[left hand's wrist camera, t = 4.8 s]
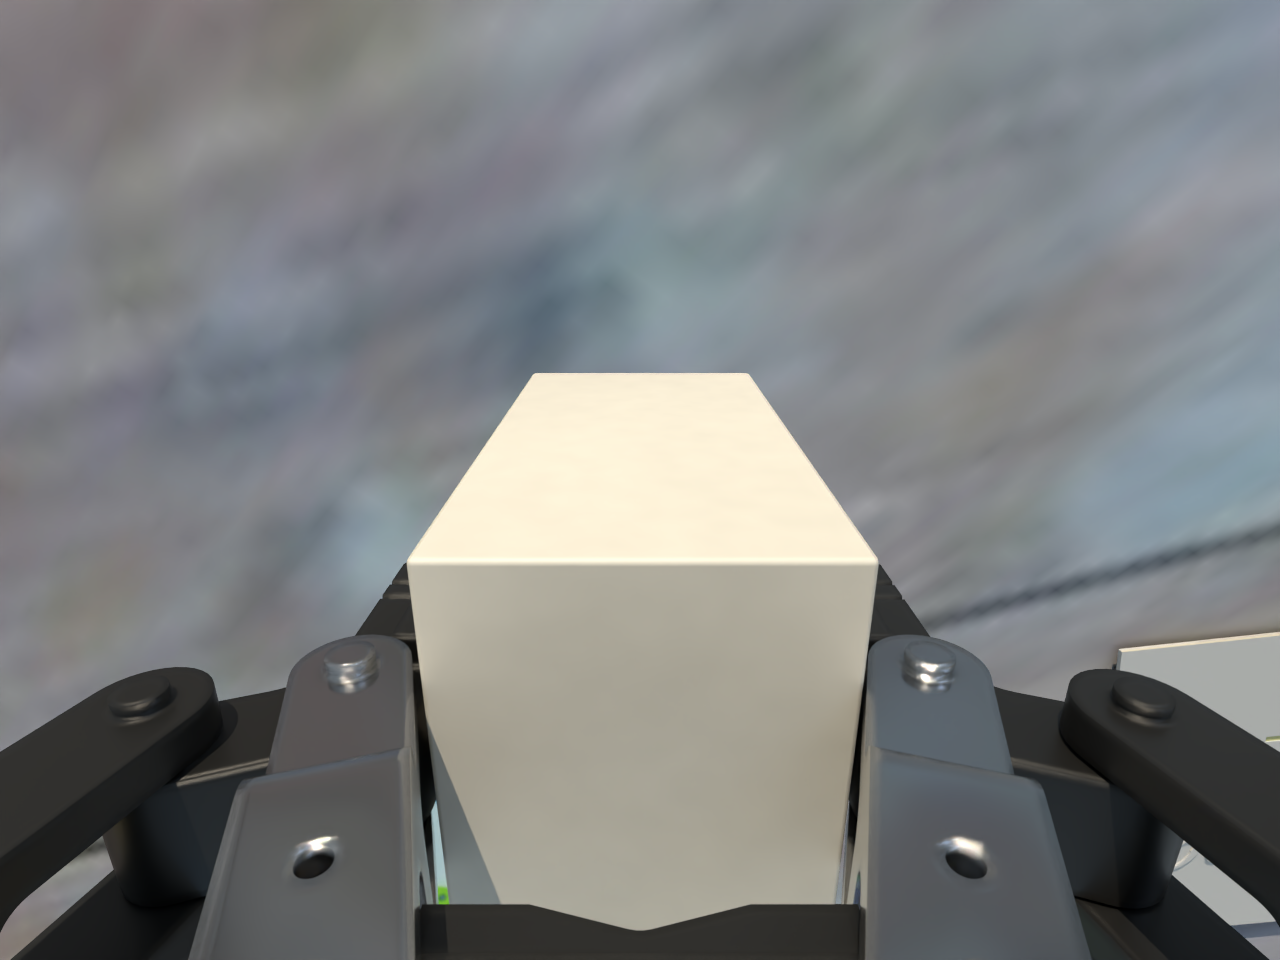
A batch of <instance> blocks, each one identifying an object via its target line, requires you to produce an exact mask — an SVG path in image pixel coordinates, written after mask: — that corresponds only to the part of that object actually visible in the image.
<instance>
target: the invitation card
mask: <svg viewBox="0 0 1280 960" xmlns="http://www.w3.org/2000/svg"><path fill="white" fill-rule="evenodd" d="M1116 670H1121V671H1127V672H1132V673H1136V674H1140V675H1143V676H1146V677H1150V678H1153V679H1155V680H1158V681H1161V682H1163V683H1166V684H1168V685H1170V686H1172V687H1174V688H1176V689H1178V690H1180V691H1182V692H1184V693H1185V694H1187V695H1189V696H1190V697H1192V698H1194V699H1195V700H1197V701H1198V702H1200V703H1202V704H1203V705H1205V706H1207V707H1208V708H1210V709H1211V710H1213V711H1215V712H1216V713H1218V714H1219V715H1221V716H1223V717H1224V718H1226V719H1227V720H1229V721H1231V722H1232V723H1234V724H1236V725H1237V726H1239V727H1240V728H1242V729H1244V730H1245V731H1247V732H1248V733H1250V734H1252V735H1253V736H1255V737H1256V738H1258V739H1260V740H1261V741H1263V742H1265V743H1266V744H1268V745H1269V746H1271V747H1273V748H1274V749H1276V750H1277V751H1279V752H1280V632H1275V633H1266V634H1257V635H1247V636H1238V637H1228V638H1219V639H1209V640H1200V641H1191V642H1181V643H1172V644H1162V645H1153V646H1143V647H1134V648H1125V649H1119V650H1118V658H1117V666H1116ZM1172 875H1173V876H1174V877H1175V878H1176V879H1177V880H1179V881H1180V882H1181V883H1182V884H1183V885H1184V886H1185V887H1187V888H1188V889H1189V890H1190V891H1191V892H1192V893H1193V894H1195V895H1196V896H1197V897H1198V898H1199V899H1200V900H1202V901H1203V902H1204V903H1205V904H1206V905H1207V906H1208V907H1210V908H1211V909H1212V910H1213V911H1214V912H1215V913H1216V914H1218V915H1219V916H1220V917H1221V918H1222V919H1223V920H1224V921H1226V922H1227V923H1228V924H1229V925H1241V924H1252V923H1263V922H1274V921H1275V919H1274V918H1273V917H1272V915H1271V914H1270V913H1269V912H1268V911H1267V909H1266V908H1265V907H1264V906H1263V905H1262V904H1261V903H1259V902H1258V901H1257V900H1256V899H1255V898H1254V897H1253V896H1251V895H1250V894H1249V893H1248V892H1246V891H1245V890H1244V889H1243V888H1242V887H1240V886H1239V885H1238V884H1237V883H1235V882H1234V881H1233V880H1232V879H1230V878H1229V877H1228V876H1227V875H1226V874H1224V873H1223V872H1222V871H1221V870H1219V869H1218V868H1217V867H1216V866H1215V865H1213V864H1212V863H1211V862H1210V861H1208V860H1207V859H1206V858H1205V857H1203V856H1202V855H1201V854H1200V853H1199V852H1197V851H1196V850H1195V849H1194V848H1192V847H1191V846H1190V845H1189V844H1187V843H1186V842H1185V841H1183V844H1182V847H1181V850H1180V852H1179V855H1178V858H1177V861H1176V864H1175V867H1174V870H1173V873H1172Z"/></svg>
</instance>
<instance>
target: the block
mask: <svg viewBox="0 0 1280 960" xmlns="http://www.w3.org/2000/svg"><path fill="white" fill-rule="evenodd" d="M878 566H879V562H878V559H877V557H876V556H875V554H874V553H873V551H872V550H871V549H870V547H869V546H868V544H867V543H866V541H865V540H864V539H863V537H862V536H861V534H860V533H859V531H858V530H857V528H856V527H855V526H854V524H853V523H852V521H851V520H850V518H849V517H848V516H847V514H846V513H845V511H844V510H843V508H842V507H841V506H840V504H839V503H838V501H837V500H836V498H835V497H834V496H833V494H832V493H831V491H830V490H829V488H828V487H827V486H826V484H825V483H824V481H823V480H822V478H821V477H820V476H819V474H818V473H817V471H816V470H815V468H814V467H813V466H812V464H811V463H810V461H809V460H808V458H807V457H806V455H805V454H804V453H803V451H802V450H801V448H800V447H799V445H798V444H797V443H796V441H795V440H794V438H793V437H792V435H791V434H790V433H789V431H788V430H787V428H786V427H785V425H784V424H783V423H782V421H781V420H780V418H779V417H778V415H777V414H776V413H775V411H774V410H773V408H772V407H771V405H770V404H769V403H768V401H767V400H766V398H765V397H764V395H763V394H762V392H761V391H760V390H759V388H758V387H757V385H756V384H755V382H754V381H753V380H752V378H751V377H750V375H749V374H747V373H536V374H533V376H532V377H531V379H530V380H529V382H528V383H527V385H526V386H525V388H524V389H523V390H522V392H521V393H520V395H519V396H518V398H517V399H516V401H515V402H514V404H513V405H512V407H511V408H510V410H509V411H508V413H507V414H506V415H505V417H504V418H503V420H502V421H501V423H500V424H499V426H498V427H497V429H496V430H495V432H494V433H493V435H492V436H491V437H490V439H489V440H488V442H487V443H486V445H485V446H484V448H483V449H482V451H481V452H480V454H479V455H478V457H477V458H476V459H475V461H474V462H473V464H472V465H471V467H470V468H469V470H468V471H467V473H466V474H465V476H464V477H463V479H462V480H461V482H460V483H459V484H458V486H457V487H456V489H455V490H454V492H453V493H452V495H451V496H450V498H449V499H448V501H447V502H446V504H445V505H444V506H443V508H442V509H441V511H440V512H439V514H438V515H437V517H436V518H435V520H434V521H433V523H432V524H431V526H430V527H429V528H428V530H427V531H426V533H425V534H424V536H423V537H422V539H421V540H420V542H419V543H418V545H417V546H416V548H415V549H414V550H413V552H412V553H411V555H410V556H409V558H408V560H407V570H408V578H409V586H410V594H411V602H412V610H413V618H414V626H415V634H416V642H417V650H418V658H419V666H420V674H421V682H422V690H423V698H424V706H425V714H426V722H427V730H428V738H429V746H430V754H431V762H432V770H433V778H434V786H435V794H436V802H437V810H438V818H439V826H440V834H441V842H442V850H443V858H444V866H445V874H446V882H447V890H448V898H449V904H530V905H534V906H538V907H542V908H546V909H550V910H554V911H558V912H562V913H566V914H570V915H574V916H578V917H582V918H586V919H590V920H594V921H598V922H602V923H606V924H610V925H614V926H618V927H622V928H626V929H631V930H649V929H654V928H658V927H662V926H666V925H670V924H674V923H678V922H682V921H686V920H690V919H694V918H698V917H702V916H706V915H710V914H714V913H718V912H722V911H726V910H730V909H734V908H738V907H742V906H746V905H750V904H835V901H836V894H837V886H838V878H839V870H840V862H841V855H842V847H843V839H844V831H845V823H846V816H847V808H848V800H849V792H850V784H851V777H852V769H853V761H854V753H855V745H856V738H857V730H858V722H859V714H860V706H861V699H862V691H863V683H864V675H865V667H866V660H867V652H868V644H869V636H870V628H871V621H872V613H873V605H874V597H875V589H876V582H877V574H878Z"/></svg>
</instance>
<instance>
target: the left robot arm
mask: <svg viewBox="0 0 1280 960" xmlns="http://www.w3.org/2000/svg"><path fill="white" fill-rule="evenodd" d="M435 801H436V794H435V786H434V778H433V770H432V762H431V754H430V746H429V738H428V730H427V722H426V714H425V706H424V698H423V690H422V682H421V674H420V666H419V658H418V650H417V642H416V634H415V626H414V618H413V610H412V602H411V594H410V586H409V578H408V570H407V563H405V564H404V565H403V566H402V568H401V569H400V571H399V572H398V574H397V575H396V576H395V578H394V579H393V581H392V585H389V587H388V588H387V590H386V591H385V593H384V594H383V599H380V600H379V601H378V603H377V604H376V606H375V607H374V609H373V610H372V612H371V613H370V615H369V616H368V618H367V619H366V621H365V622H364V623H363V625H362V626H361V628H360V629H359V631H358V632H357V634H356V635H355V636H352V637H347V638H343V639H339V640H336V641H333V642H330V643H328V644H325V645H323V646H321V647H319V648H317V649H315V650H313V651H312V652H310V653H308V654H307V655H306V656H304V657H303V658H302V659H301V660H300V661H299V662H298V663H297V664H296V665H295V666H294V667H293V669H292V670H291V672H290V675H289V678H288V682H287V686H286V688H282V689H278V690H274V691H270V692H265V693H260V694H254V695H249V696H244V697H239V698H234V699H228V700H223V701H218V698H217V693H216V689H215V685H214V682H213V679H212V677H211V676H210V675H209V674H207V673H206V672H204V671H202V670H198V669H195V668H187V667H173V668H163V669H157V670H152V671H148V672H144V673H140V674H137V675H134V676H131V677H128V678H125V679H123V680H120V681H118V682H115V683H113V684H111V685H109V686H107V687H105V688H103V689H101V690H100V691H98V692H96V693H94V694H93V695H91V696H90V697H88V698H86V699H85V700H83V701H82V702H80V703H78V704H77V705H75V706H73V707H72V708H70V709H69V710H67V711H65V712H64V713H62V714H61V715H59V716H57V717H56V718H54V719H53V720H51V721H49V722H48V723H46V724H44V725H43V726H41V727H40V728H38V729H36V730H35V731H33V732H32V733H30V734H28V735H27V736H25V737H24V738H22V739H20V740H19V741H17V742H15V743H14V744H12V745H11V746H9V747H7V748H6V749H4V750H3V751H1V752H0V932H1V930H2V928H3V926H4V924H5V923H6V921H7V919H8V918H9V916H10V915H11V914H12V912H13V911H14V910H15V909H16V908H17V906H18V905H19V904H20V903H21V902H22V901H23V900H24V899H25V898H27V897H28V896H29V895H30V894H31V893H32V892H34V891H35V890H36V889H37V888H38V887H40V886H41V885H42V884H43V883H45V882H46V881H47V880H48V879H50V878H51V877H52V876H53V875H54V874H56V873H57V872H58V871H59V870H61V869H62V868H63V867H64V866H66V865H67V864H68V863H69V862H70V861H72V860H73V859H74V858H75V857H77V856H78V855H79V854H80V853H81V852H83V851H84V850H85V849H86V848H88V847H89V846H90V845H91V844H93V843H94V842H95V841H96V840H97V839H99V838H100V837H101V836H103V839H104V842H105V845H106V848H107V850H108V853H109V856H110V859H111V862H112V865H113V868H114V870H113V871H112V872H111V873H109V874H108V875H107V876H106V877H105V878H104V879H103V880H101V881H100V882H99V883H98V884H97V885H96V886H95V887H93V888H92V889H91V890H90V891H89V892H88V893H87V894H85V895H84V896H83V897H82V898H81V899H80V900H79V901H77V902H76V903H75V904H74V905H73V906H72V907H70V908H69V909H68V910H67V911H66V912H65V913H64V914H62V915H61V916H60V917H59V918H58V919H57V920H56V921H54V922H53V923H52V924H51V925H50V926H49V927H48V928H46V929H45V930H44V931H43V932H42V933H41V934H40V935H38V936H37V937H36V938H35V939H34V940H33V941H32V942H30V943H29V944H28V945H27V946H26V947H25V948H24V949H22V950H21V951H20V952H19V953H18V954H17V955H15V956H14V957H13V958H12V959H11V960H1269V959H1268V958H1267V957H1266V956H1265V955H1263V954H1262V953H1261V952H1260V951H1259V950H1258V949H1257V948H1255V947H1254V946H1253V945H1252V944H1251V943H1250V942H1248V941H1247V940H1246V939H1245V938H1244V937H1243V936H1242V935H1240V934H1239V933H1238V932H1237V931H1236V930H1235V929H1234V928H1232V927H1231V926H1230V925H1229V924H1228V923H1227V922H1226V921H1224V920H1223V919H1222V918H1221V917H1220V916H1219V915H1218V914H1216V913H1215V912H1214V911H1213V910H1212V909H1211V908H1210V907H1208V906H1207V905H1206V904H1205V903H1204V902H1203V901H1202V900H1200V899H1199V898H1198V897H1197V896H1196V895H1195V894H1193V893H1192V892H1191V891H1190V890H1189V889H1188V888H1187V887H1185V886H1184V885H1183V884H1182V883H1181V882H1180V881H1179V880H1177V879H1176V878H1175V877H1174V876H1173V875H1172V873H1173V870H1174V867H1175V864H1176V861H1177V858H1178V855H1179V852H1180V850H1181V847H1182V844H1183V841H1185V842H1186V843H1187V844H1189V845H1190V846H1191V847H1192V848H1194V849H1195V850H1196V851H1197V852H1199V853H1200V854H1201V855H1202V856H1203V857H1205V858H1206V859H1207V860H1208V861H1210V862H1211V863H1212V864H1213V865H1215V866H1216V867H1217V868H1218V869H1219V870H1221V871H1222V872H1223V873H1224V874H1226V875H1227V876H1228V877H1229V878H1230V879H1232V880H1233V881H1234V882H1235V883H1237V884H1238V885H1239V886H1240V887H1242V888H1243V889H1244V890H1245V891H1246V892H1248V893H1249V894H1250V895H1251V896H1253V897H1254V898H1255V899H1256V900H1257V901H1258V902H1259V903H1261V904H1262V905H1263V906H1264V907H1265V908H1266V909H1267V911H1268V912H1269V913H1270V914H1271V915H1272V917H1273V918H1274V919H1275V921H1276V922H1277V924H1278V925H1279V927H1280V752H1279V751H1277V750H1276V749H1274V748H1273V747H1271V746H1269V745H1268V744H1266V743H1265V742H1263V741H1261V740H1260V739H1258V738H1256V737H1255V736H1253V735H1252V734H1250V733H1248V732H1247V731H1245V730H1244V729H1242V728H1240V727H1239V726H1237V725H1236V724H1234V723H1232V722H1231V721H1229V720H1227V719H1226V718H1224V717H1223V716H1221V715H1219V714H1218V713H1216V712H1215V711H1213V710H1211V709H1210V708H1208V707H1207V706H1205V705H1203V704H1202V703H1200V702H1198V701H1197V700H1195V699H1194V698H1192V697H1190V696H1189V695H1187V694H1185V693H1184V692H1182V691H1180V690H1178V689H1176V688H1174V687H1172V686H1170V685H1168V684H1166V683H1163V682H1161V681H1158V680H1155V679H1153V678H1150V677H1146V676H1143V675H1140V674H1136V673H1132V672H1127V671H1121V670H1112V669H1094V670H1087V671H1084V672H1080V673H1079V674H1077V675H1075V676H1074V677H1073V678H1072V679H1071V681H1070V683H1069V686H1068V690H1067V694H1066V698H1065V702H1063V701H1057V700H1052V699H1047V698H1042V697H1037V696H1032V695H1026V694H1021V693H1016V692H1012V691H1008V690H1004V689H1000V688H997V687H994V686H993V682H992V678H991V675H990V672H989V670H988V669H987V667H986V666H985V665H984V664H983V663H982V662H981V661H980V660H979V659H978V658H977V657H976V656H974V655H973V654H972V653H970V652H968V651H967V650H965V649H963V648H961V647H959V646H957V645H955V644H952V643H950V642H947V641H944V640H941V639H937V638H933V637H930V636H929V634H928V633H927V631H926V630H925V629H924V627H923V626H922V624H921V623H920V621H919V620H918V618H917V617H916V616H915V614H914V613H913V611H912V610H911V608H910V607H909V605H908V604H907V603H906V601H905V600H902V595H901V594H900V592H899V591H898V590H897V588H896V587H895V585H892V581H891V579H890V578H889V577H888V575H887V574H886V572H885V571H884V569H883V568H882V566H881V565H880V564H879V566H878V574H877V582H876V589H875V597H874V605H873V613H872V621H871V628H870V636H869V644H868V652H867V660H866V667H865V675H864V683H863V691H862V699H861V706H860V714H859V722H858V730H857V738H856V745H855V753H854V761H853V769H852V777H851V784H850V792H849V809H848V816H847V824H846V835H845V852H844V868H843V885H842V902H841V904H750V905H746V906H742V907H738V908H734V909H730V910H726V911H722V912H718V913H714V914H710V915H706V916H702V917H698V918H694V919H690V920H686V921H682V922H678V923H674V924H670V925H666V926H662V927H658V928H654V929H649V930H631V929H626V928H622V927H618V926H614V925H610V924H606V923H602V922H598V921H594V920H590V919H586V918H582V917H578V916H574V915H570V914H566V913H562V912H558V911H554V910H550V909H546V908H542V907H538V906H534V905H530V904H439V902H438V885H437V868H436V852H435V835H434V824H433V816H432V809H433V807H434V804H435Z"/></svg>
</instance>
